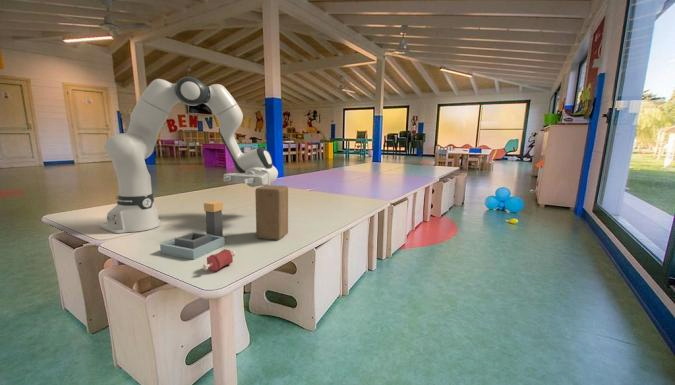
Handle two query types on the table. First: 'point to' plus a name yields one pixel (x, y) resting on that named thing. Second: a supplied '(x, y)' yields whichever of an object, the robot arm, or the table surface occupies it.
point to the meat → (219, 260)
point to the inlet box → (192, 245)
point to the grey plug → (214, 218)
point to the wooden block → (271, 211)
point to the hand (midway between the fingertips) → (234, 180)
